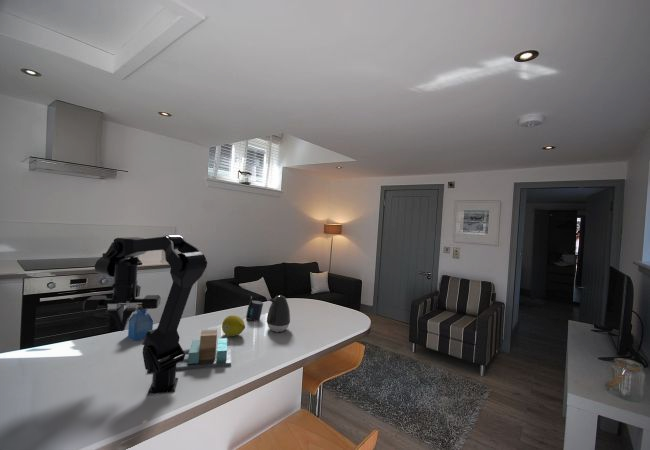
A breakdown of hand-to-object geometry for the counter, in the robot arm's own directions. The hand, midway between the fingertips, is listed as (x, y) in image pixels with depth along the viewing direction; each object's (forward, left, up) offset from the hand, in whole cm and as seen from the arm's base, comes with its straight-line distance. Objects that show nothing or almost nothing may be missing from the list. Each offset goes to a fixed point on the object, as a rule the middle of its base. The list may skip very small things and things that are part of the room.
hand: (122, 330), depth 89 cm
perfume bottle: (+26, +1, -12) cm, 29 cm away
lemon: (+22, -33, -12) cm, 42 cm away
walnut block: (+3, -24, -11) cm, 27 cm away
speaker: (+41, -43, -12) cm, 61 cm away
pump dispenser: (+26, -52, -12) cm, 59 cm away
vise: (+3, -20, -12) cm, 24 cm away
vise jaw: (+3, -16, -11) cm, 20 cm away
